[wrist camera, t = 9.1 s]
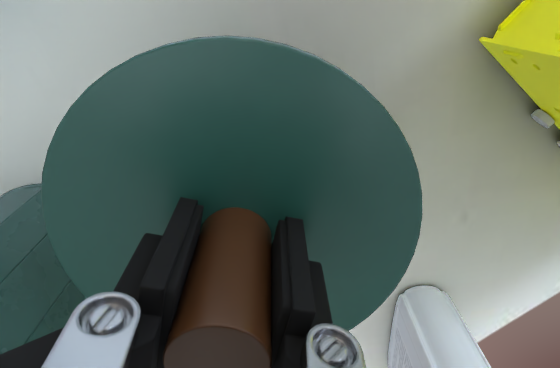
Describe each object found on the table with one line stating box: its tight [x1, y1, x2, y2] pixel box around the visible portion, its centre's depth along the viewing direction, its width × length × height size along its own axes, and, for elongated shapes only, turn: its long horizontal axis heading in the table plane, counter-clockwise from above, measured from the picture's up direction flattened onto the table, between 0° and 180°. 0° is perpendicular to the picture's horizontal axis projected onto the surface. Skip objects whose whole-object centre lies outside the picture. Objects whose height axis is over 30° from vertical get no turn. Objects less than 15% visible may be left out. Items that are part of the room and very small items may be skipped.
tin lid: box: [41, 36, 422, 368], centre depth 11 cm, size 13×13×6 cm
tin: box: [0, 184, 86, 354], centre depth 19 cm, size 12×12×14 cm
